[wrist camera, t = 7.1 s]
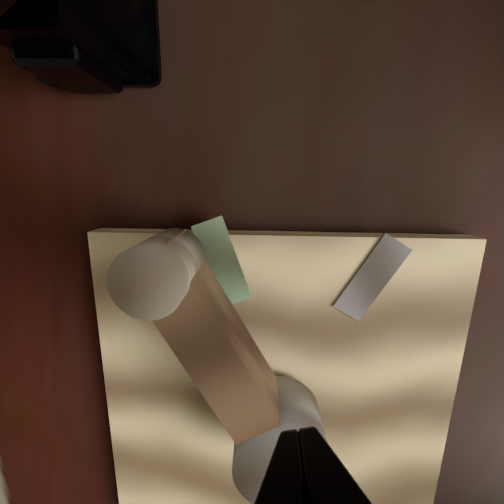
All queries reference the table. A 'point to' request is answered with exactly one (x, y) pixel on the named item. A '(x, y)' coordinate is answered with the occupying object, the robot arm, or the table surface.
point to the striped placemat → (299, 356)
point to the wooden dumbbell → (212, 348)
